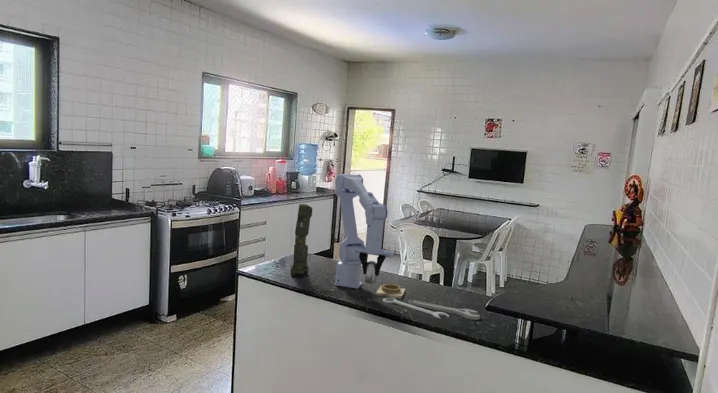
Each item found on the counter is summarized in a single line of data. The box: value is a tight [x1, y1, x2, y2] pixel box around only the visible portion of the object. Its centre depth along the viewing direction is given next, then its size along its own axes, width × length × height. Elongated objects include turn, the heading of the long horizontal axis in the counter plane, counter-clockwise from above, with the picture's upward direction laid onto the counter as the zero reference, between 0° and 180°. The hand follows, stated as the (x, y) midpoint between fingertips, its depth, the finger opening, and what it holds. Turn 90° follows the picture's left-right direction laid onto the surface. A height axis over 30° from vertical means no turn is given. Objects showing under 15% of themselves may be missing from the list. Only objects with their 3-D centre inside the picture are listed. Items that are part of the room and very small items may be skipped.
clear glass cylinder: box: [364, 260, 377, 285], centre depth 166 cm, size 4×4×8 cm
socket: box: [375, 283, 406, 300], centre depth 174 cm, size 10×10×2 cm
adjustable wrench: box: [407, 299, 481, 321], centre depth 160 cm, size 25×6×2 cm, turn 62°
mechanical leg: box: [290, 203, 313, 279], centre depth 189 cm, size 14×7×30 cm, turn 179°
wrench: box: [382, 297, 450, 320], centre depth 159 cm, size 25×2×5 cm
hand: (371, 274), depth 166 cm, fingers closed on clear glass cylinder, 4 cm apart
